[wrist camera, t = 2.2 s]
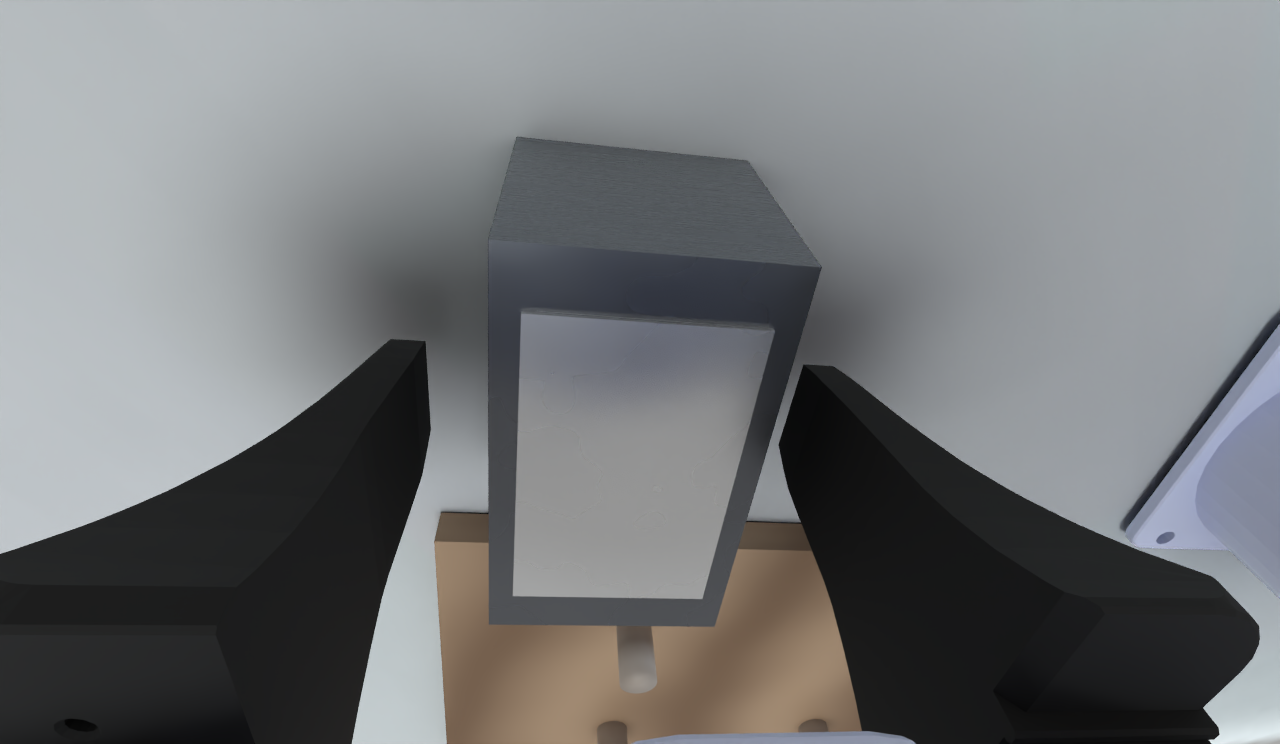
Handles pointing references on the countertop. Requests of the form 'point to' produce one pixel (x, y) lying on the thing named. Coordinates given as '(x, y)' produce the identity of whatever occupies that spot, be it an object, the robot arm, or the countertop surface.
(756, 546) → the pin tray
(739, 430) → the block
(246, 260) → the countertop surface
